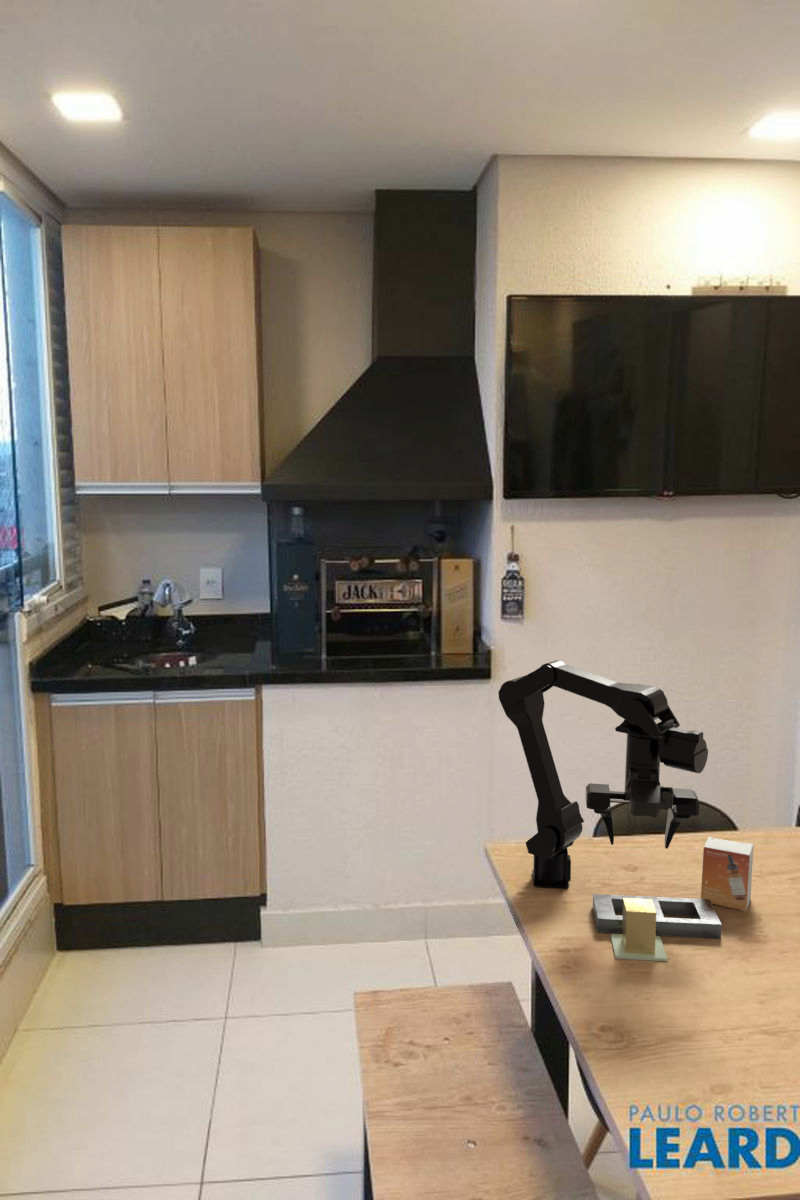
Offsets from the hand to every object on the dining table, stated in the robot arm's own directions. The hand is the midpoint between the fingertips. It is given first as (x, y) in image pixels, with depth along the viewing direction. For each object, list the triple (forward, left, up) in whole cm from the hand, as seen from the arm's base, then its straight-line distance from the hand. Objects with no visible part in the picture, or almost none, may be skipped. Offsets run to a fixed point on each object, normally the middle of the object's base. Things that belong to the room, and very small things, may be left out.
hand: (639, 845), depth 158 cm
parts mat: (-2, -14, -12) cm, 18 cm away
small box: (+16, +5, -12) cm, 21 cm away
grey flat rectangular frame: (+2, -5, -12) cm, 13 cm away
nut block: (-2, -14, -11) cm, 18 cm away
